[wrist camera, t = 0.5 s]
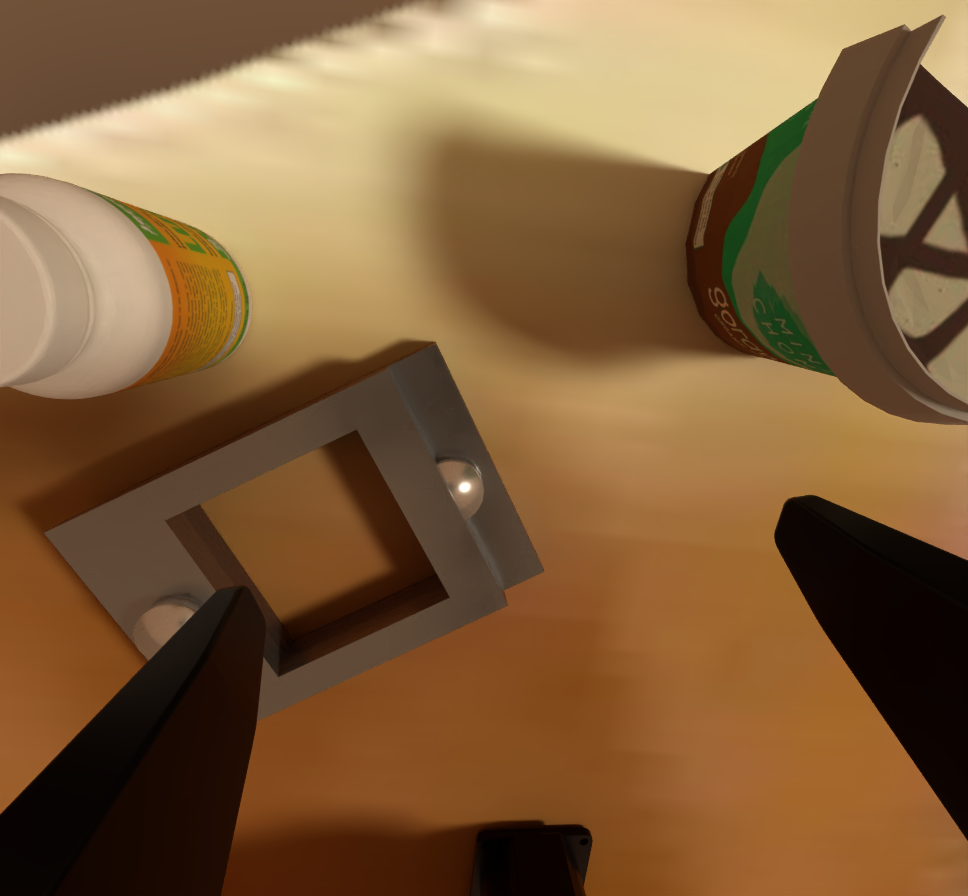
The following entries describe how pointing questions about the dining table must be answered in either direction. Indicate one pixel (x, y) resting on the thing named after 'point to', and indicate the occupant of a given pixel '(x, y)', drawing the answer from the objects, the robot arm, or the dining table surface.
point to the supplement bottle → (108, 293)
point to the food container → (850, 235)
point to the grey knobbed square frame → (355, 406)
